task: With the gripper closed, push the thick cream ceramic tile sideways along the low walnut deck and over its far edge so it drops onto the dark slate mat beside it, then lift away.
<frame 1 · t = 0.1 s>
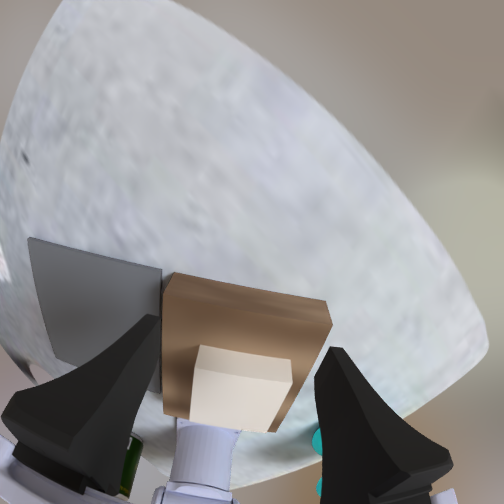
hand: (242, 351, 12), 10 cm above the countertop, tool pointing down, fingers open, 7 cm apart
beer can: (128, 435, 35), on the countertop
mat: (94, 324, 25), on the countertop
deck: (233, 358, 25), on the countertop
tile: (237, 384, 23), point 3 cm above the countertop, touching deck
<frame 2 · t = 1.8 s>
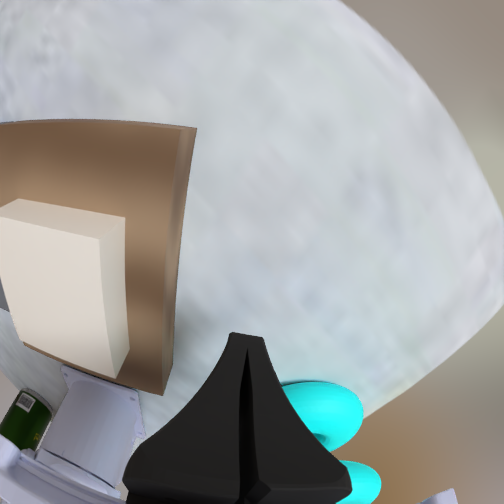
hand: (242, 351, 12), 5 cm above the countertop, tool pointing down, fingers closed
donuts: (302, 408, 22), on the countertop
beer can: (38, 399, 25), on the countertop
deck: (88, 252, 16), on the countertop
tile: (69, 278, 13), point 3 cm above the countertop, touching deck
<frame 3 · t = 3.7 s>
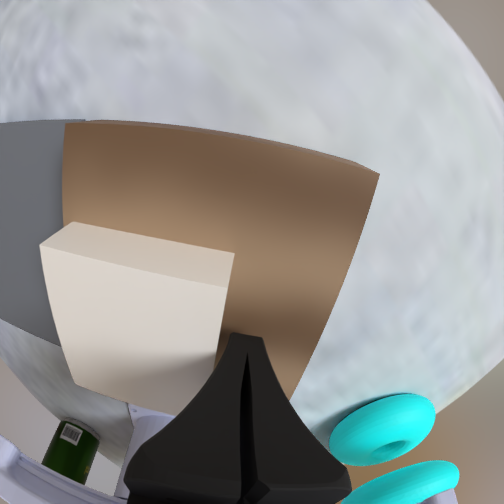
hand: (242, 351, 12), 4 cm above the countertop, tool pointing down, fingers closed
donuts: (379, 418, 21), on the countertop
beer can: (82, 427, 25), on the countertop
mat: (9, 241, 14), on the countertop
deck: (198, 288, 15), on the countertop
tile: (144, 316, 12), point 3 cm above the countertop, touching deck, gripper
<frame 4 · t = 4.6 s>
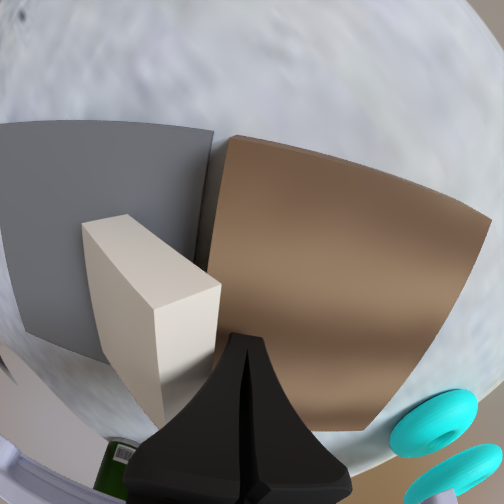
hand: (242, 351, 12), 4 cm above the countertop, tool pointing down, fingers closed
donuts: (430, 413, 21), on the countertop
beer can: (132, 446, 25), on the countertop
mat: (79, 261, 15), on the countertop
deck: (319, 310, 15), on the countertop
tile: (163, 320, 13), point 3 cm above the countertop, tilted 42°
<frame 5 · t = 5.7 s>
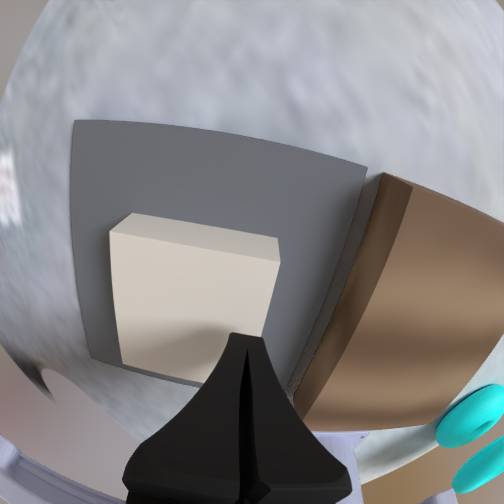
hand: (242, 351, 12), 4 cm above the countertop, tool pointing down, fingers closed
donuts: (468, 407, 22), on the countertop
mat: (189, 286, 15), on the countertop
deck: (415, 323, 16), on the countertop
tile: (194, 296, 15), resting on mat
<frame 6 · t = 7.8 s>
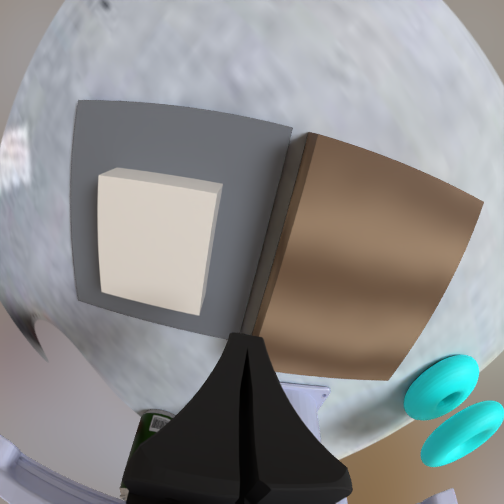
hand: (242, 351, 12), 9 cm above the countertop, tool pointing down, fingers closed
donuts: (437, 379, 26), on the countertop
beer can: (164, 418, 29), on the countertop
mat: (157, 227, 19), on the countertop
deck: (357, 270, 19), on the countertop
tile: (161, 234, 18), resting on mat
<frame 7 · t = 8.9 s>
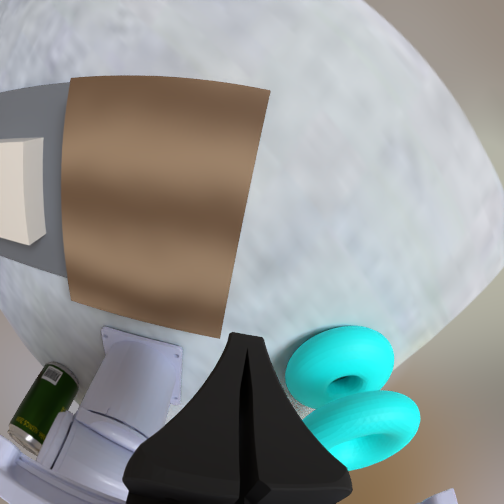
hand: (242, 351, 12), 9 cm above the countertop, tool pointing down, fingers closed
donuts: (337, 358, 25), on the countertop
beer can: (63, 373, 28), on the countertop
mat: (17, 180, 18), on the countertop
deck: (156, 200, 19), on the countertop
tile: (16, 184, 18), resting on mat
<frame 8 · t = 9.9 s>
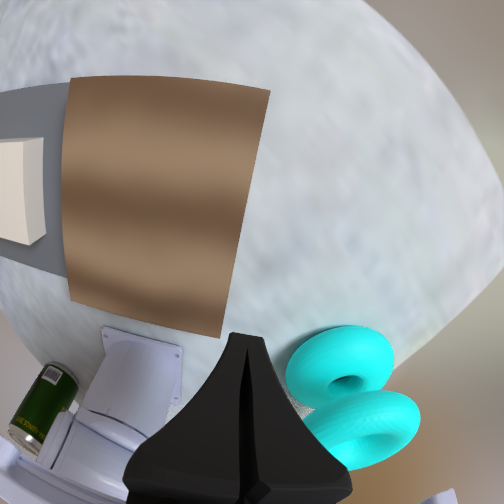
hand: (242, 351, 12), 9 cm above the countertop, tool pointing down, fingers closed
donuts: (337, 358, 25), on the countertop
beer can: (63, 373, 28), on the countertop
mat: (17, 180, 18), on the countertop
deck: (156, 200, 19), on the countertop
tile: (16, 184, 18), resting on mat
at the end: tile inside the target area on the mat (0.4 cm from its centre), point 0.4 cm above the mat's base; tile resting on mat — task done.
